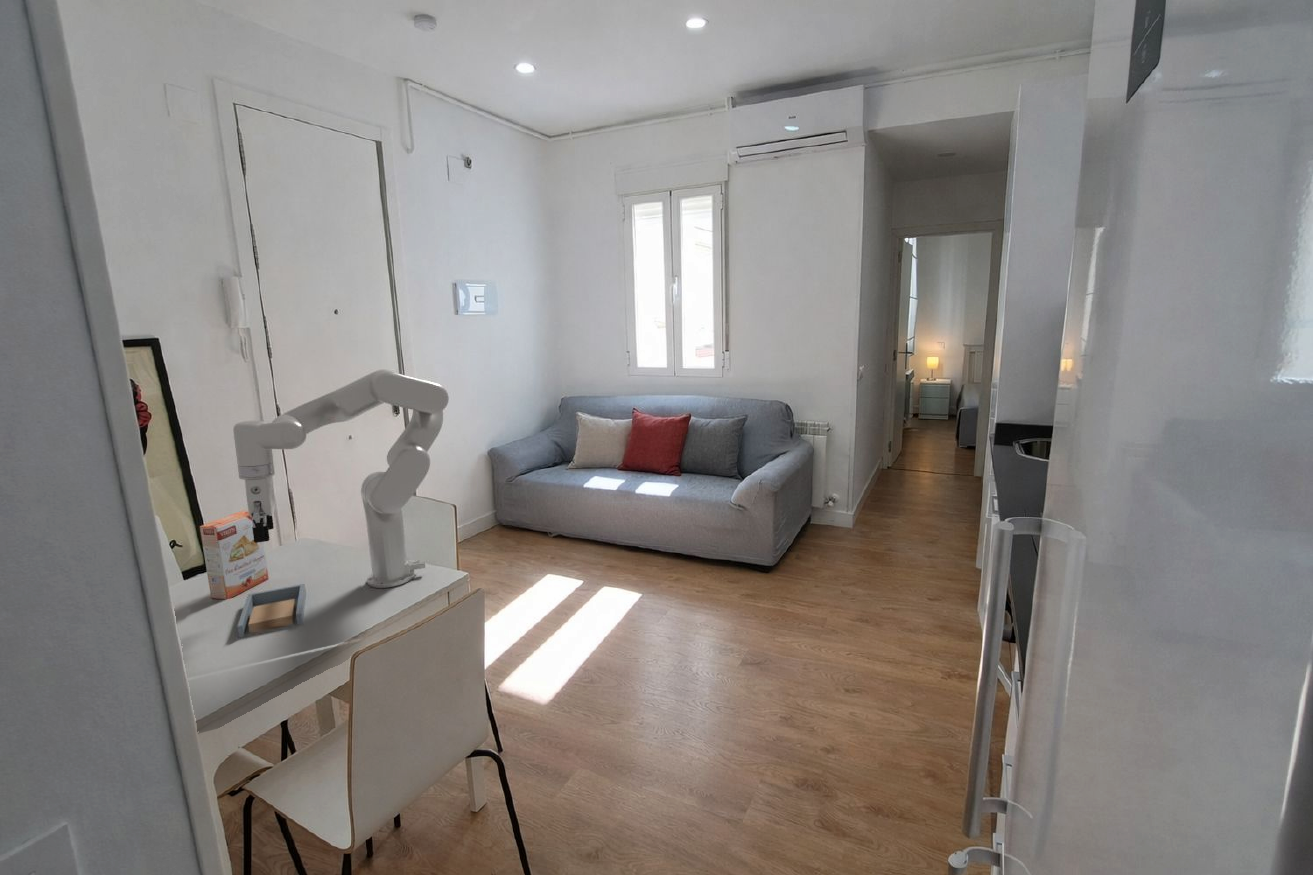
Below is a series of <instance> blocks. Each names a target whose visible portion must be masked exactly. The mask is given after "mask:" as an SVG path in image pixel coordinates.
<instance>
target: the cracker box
mask: <svg viewBox="0 0 1313 875" xmlns="http://www.w3.org/2000/svg"><path fill="white" fill-rule="evenodd" d="M252 527H253V518H251V517H250V516H249V511H248V510H241V511H238V512H235V513H232V514H230V515H228V516H224V517H222V518H219V519H216V520H214V521H211V522H208V523H206V524H202V525H200V526H199V531H200V537H201V542H202V543H201V544H202V549H203V556H204V561H205V567H206V568H205V569H206V574H207V581H208V585H209V587H208V588H209V592H210V597H211V599H214V600H215V599H216V600H229V599H232V598H235V597H236V596H237V595H240V594H241V593H244V592H245V591H247V590H250V589H251V588H253V587H256V586H257V585H259V584H261V583H264V582H266V581H268V579H269V572H268V565H267V558H266V557H267V556H266V550H265V542H257V543H255V542H254V537H253V529H252Z"/></svg>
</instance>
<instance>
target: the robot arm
mask: <svg viewBox="0 0 1313 875" xmlns="http://www.w3.org/2000/svg"><path fill="white" fill-rule="evenodd" d="M448 393H449V392H448V391H447V389H446V388H445V387H444V386H443V385H441V384H439V383H436V382H433V381H430V380H426V379H425V380H424V379H418V378H415V377H411V376H408V375H404V374H401V373H398V372H395V371H391V370H389V369H378V370H376V371H373V372H371V373H368V374H367V375H364V376H362V377H360V378H358V379H356V380H354V381H352V382H350V383H348V384H346V385H344V386H342V387H340V388H337V389H336V390H333V391H331V392H329V393H326V394H324V395H322V396H319V397H317V398H315V399H312V400H310V401H308V402H305V403H303V404H301V405H299V406H297V407H294V408H292V409H290V410H288V411H285V412H284V413H283V414H280V415H278V416H277V417H275V418H274V419H273V420H272V421H271V422H266V421H264V420H246V421H241V422H237V423H236V424H234V426H233V432H232V433H233V438H234V439H233V440H234V447H235V456H236V463H237V464H236V465H237V469H238V470H237V471H238V478H239V480H242V481H243V480H244V485H245V495H246V496H245V497H246V502H247V511H249V516H250V517H251V518H253V527H252V529H253V537H254V542H255V543H257V542H264V543H265V542H268V541H270V532H269V530H273V529H274V528H275V527H274V521H273V520H274V519H273V518H274V517H273V515H274V513H275V511H276V507H277V506H276V504H277V503H276V499H275V492H274V486H273V479H272V476H275V474H276V473H275V465H274V455H273V450H294V449H297V448H299V447H302V445H304V443H305V442H306V439H307V435H308V434H309V433H312V432H314V431H315V430H318V429H320V428H322V427H325V426H328V425H331V424H335V423H344V422H348V421H351V420H353V419H355V418H357V417H360V416H361V415H363V414H364V413H366V412H368V411H370V410H372V409H375V408H376V407H379V406H380V405H383V404H388V405H391V406H395V407H400V408H404V409H408V410H412V416H411V418H410V421H409V422H408V423H407V425H406V427H405V428H404V429H403V431H402V432H401V434H400V435H399V437H397V439H396V441H395V442H394V443H393V445H392V446H391V447H390V449H389V450H388V452H387V454H386V462H387V464H388V465H387V466H388V468H387V469H386V471H375V472H372V473H370V474H368V475H367V477H365V478H364V480H363V482H362V484H361V487H360V488H361V489H360V494H361V500H362V504H363V510H364V515H365V522H366V531H367V540H368V541H367V542H368V548H369V557H370V564H371V574H369V575H368V577H367V578H366V582H367V585H368V586H370V587H372V588H375V589H376V588H377V589H379V588H380V589H382V588H383V589H384V588H393V587H397V586H400V585H403V584H407V583H409V581H411V580H412V579H413V578H414V577H415V570H422V569H425V568H426V563H425V561H420V560H413V561H412V560H409V558H408V555H407V545H406V544H407V543H406V535H405V527H404V526H405V524H404V515H403V510H402V509H403V508H404V507H405V505H407V503H408V502H409V501H410V499H411V498H412V497H413V496H414V493H415V492H416V491H417V490H418V488H419V486H420V485H421V484H422V482H423V480H425V477H426V476H427V475H428V473H429V470H430V467H431V459H430V455H429V453H428V451H429V450H430V448H431V447H432V445H433V444H434V442H435V440H436V439H437V438H438V436H439V434H440V431H441V430H442V427H443V423H444V410H445V408H446V407H447V406H448V403H449V400H450V399H449V398H450V397H449V394H448Z"/></svg>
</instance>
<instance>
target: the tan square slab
mask: <svg viewBox="0 0 1313 875" xmlns="http://www.w3.org/2000/svg"><path fill="white" fill-rule="evenodd" d="M295 610H296V605H295V599H291V600H286V601H281V602H276V603H271V604H265V605H260V606H255V607H253V610H252V614H251V617H250V620H249V624H248V625H249V631H250V634H252V633H256V632H261V631H266V630H271V629H275V628H280V627H285V626H290V625H293V623H294V617H295Z"/></svg>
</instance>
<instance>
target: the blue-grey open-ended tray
mask: <svg viewBox="0 0 1313 875" xmlns="http://www.w3.org/2000/svg"><path fill="white" fill-rule="evenodd" d="M306 591H307V590H306V585H305V583H302V584H301V583H300V584H295V585H290V586H284V587H280V588H279V587H278V588H273V589H268V590H263V591H257V592H253V593H248V594H247V595H246V599H245V602H244V605H243V608H242V611H241V613H240V617H239V619H238V622H237V627H236V628H237V631H238V637H239V638H238V639H241V638H246V637H250V636H256V635H260V634H266V633H269V632H273V631H279V630H286V629H289V628H294V627H298V626H303V624H304V623H303V622H304V615H305V607H306V606H305V605H306V597H307V592H306ZM291 599H295V605H296V610H295V617H294V623H293V625H290V626H285V627H280V628H275V629H271V630H266V631H261V632H256V633H252V634H250V631H249V625H248V624H249V620H250V617H251V614H252V610H253V607H255V606H260V605H265V604H271V603H276V602H281V601H286V600H291Z"/></svg>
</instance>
